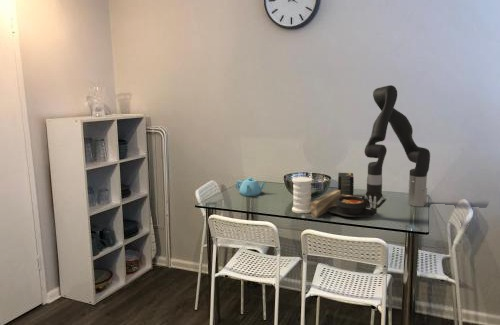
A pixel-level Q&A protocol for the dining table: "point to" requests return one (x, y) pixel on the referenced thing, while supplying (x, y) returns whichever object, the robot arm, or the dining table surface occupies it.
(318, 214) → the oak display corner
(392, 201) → the dining table surface
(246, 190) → the teapot
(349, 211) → the casserole
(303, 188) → the decorative container
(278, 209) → the dining table surface
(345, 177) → the tampon box
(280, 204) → the dining table surface
